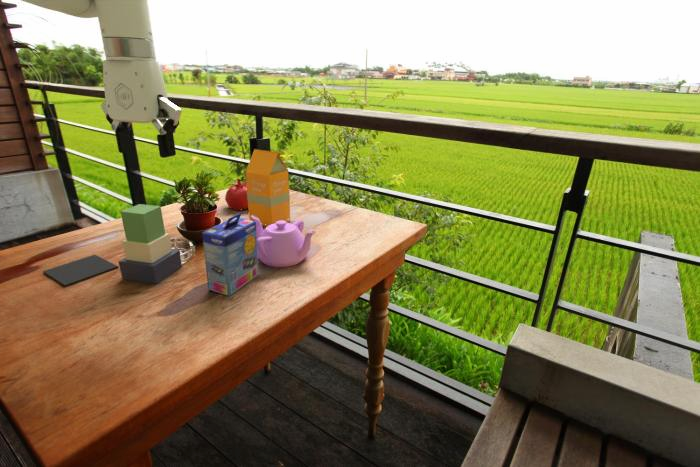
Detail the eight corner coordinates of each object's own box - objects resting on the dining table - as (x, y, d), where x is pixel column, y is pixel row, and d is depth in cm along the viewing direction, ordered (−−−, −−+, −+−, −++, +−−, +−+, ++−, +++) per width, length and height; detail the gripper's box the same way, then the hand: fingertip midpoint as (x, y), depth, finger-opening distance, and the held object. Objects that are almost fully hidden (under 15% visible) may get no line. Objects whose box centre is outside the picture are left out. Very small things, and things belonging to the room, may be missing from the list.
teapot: (253, 249, 92) (251, 214, 89) (311, 245, 95) (311, 211, 92) (251, 272, 82) (248, 233, 78) (317, 267, 84) (316, 229, 81)
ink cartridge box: (230, 297, 72) (222, 224, 67) (206, 291, 74) (197, 220, 68) (260, 274, 81) (256, 208, 75) (238, 269, 82) (232, 204, 77)
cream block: (126, 259, 77) (122, 241, 75) (147, 247, 82) (144, 230, 81) (152, 263, 76) (148, 244, 74) (172, 251, 81) (169, 233, 80)
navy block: (122, 279, 78) (118, 261, 76) (150, 262, 85) (147, 245, 83) (156, 284, 76) (153, 266, 74) (182, 266, 83) (179, 249, 82)
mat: (43, 272, 80) (42, 271, 79) (95, 256, 87) (94, 254, 87) (65, 287, 74) (64, 285, 74) (118, 267, 82) (118, 266, 82)
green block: (126, 240, 76) (120, 211, 74) (144, 231, 80) (139, 203, 78) (148, 243, 75) (142, 214, 72) (165, 234, 79) (160, 206, 77)
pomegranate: (264, 204, 124) (263, 176, 121) (245, 213, 116) (242, 183, 112) (240, 200, 128) (237, 173, 125) (219, 209, 120) (215, 179, 116)
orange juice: (272, 228, 105) (267, 154, 98) (248, 221, 110) (243, 150, 102) (290, 220, 112) (288, 150, 104) (268, 214, 116) (263, 146, 108)
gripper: (71, 50, 64) (94, 153, 71) (152, 50, 59) (169, 162, 65) (111, 53, 71) (129, 147, 77) (187, 53, 66) (199, 155, 72)
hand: (147, 154), depth 71 cm, fingers open, 9 cm apart
